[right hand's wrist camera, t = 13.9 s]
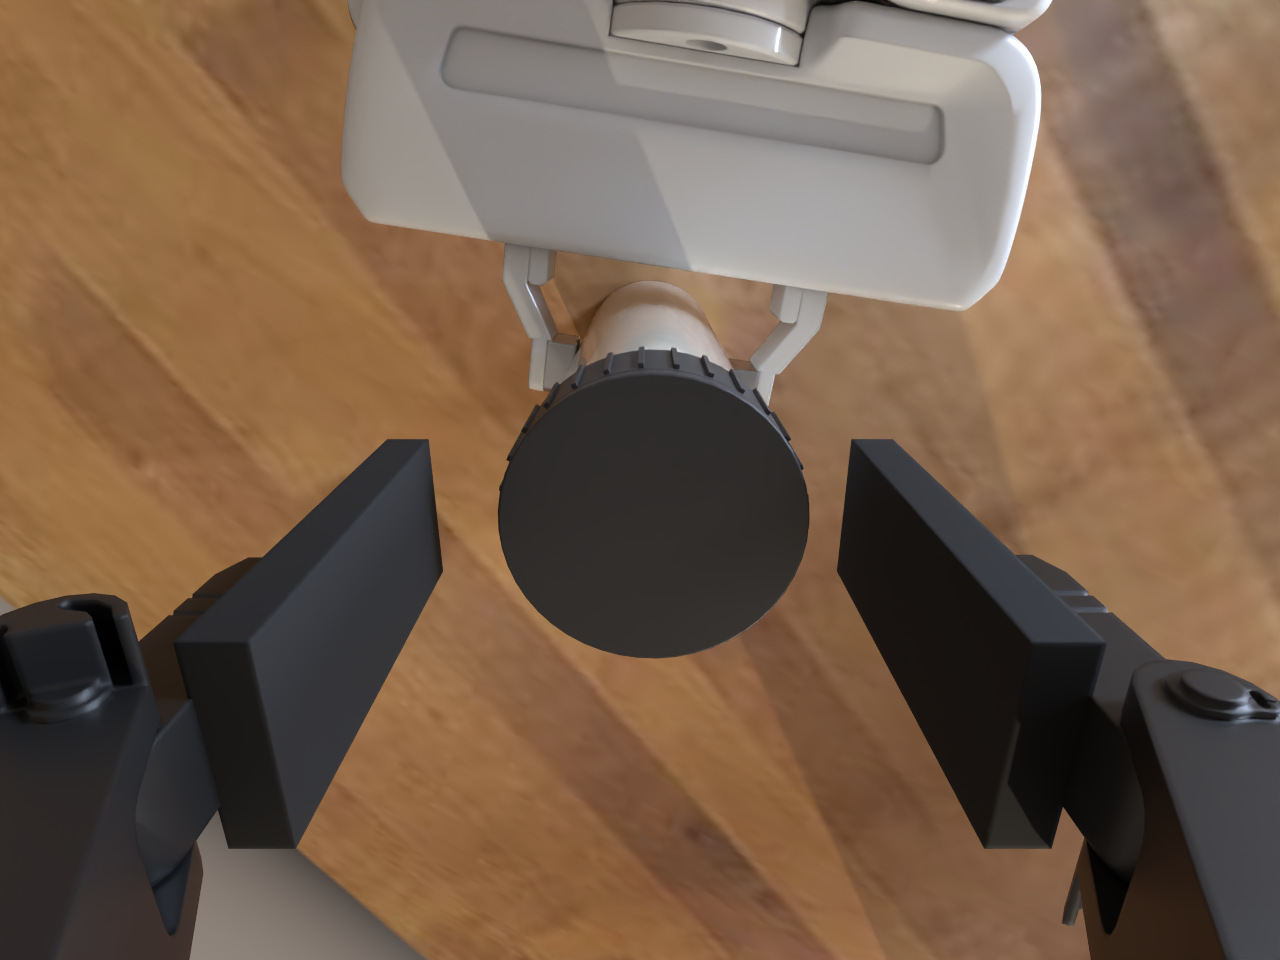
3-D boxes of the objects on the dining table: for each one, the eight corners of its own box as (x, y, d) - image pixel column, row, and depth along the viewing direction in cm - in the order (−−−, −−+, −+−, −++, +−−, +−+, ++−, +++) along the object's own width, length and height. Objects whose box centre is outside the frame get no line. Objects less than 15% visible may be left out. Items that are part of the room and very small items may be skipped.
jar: (564, 357, 31) (462, 544, 14) (635, 254, 30) (620, 321, 12) (662, 426, 32) (680, 679, 15) (735, 329, 31) (850, 488, 14)
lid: (462, 511, 16) (433, 558, 14) (619, 284, 14) (614, 298, 12) (679, 647, 17) (684, 711, 15) (848, 453, 15) (881, 493, 13)
